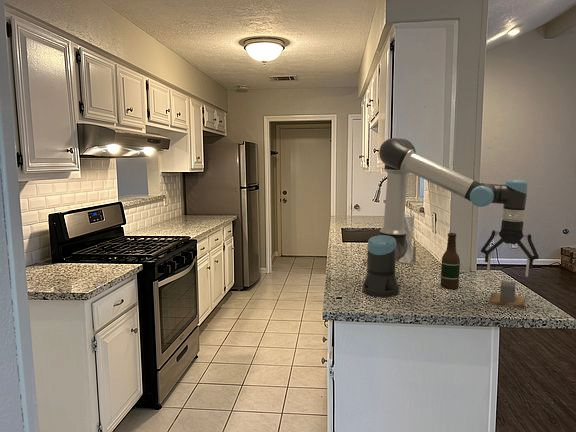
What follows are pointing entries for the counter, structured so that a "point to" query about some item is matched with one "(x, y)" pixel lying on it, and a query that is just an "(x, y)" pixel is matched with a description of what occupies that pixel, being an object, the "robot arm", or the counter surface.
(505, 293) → the plug
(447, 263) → the beer bottle
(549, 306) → the counter surface
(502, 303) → the walnut board
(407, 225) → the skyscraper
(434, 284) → the counter surface
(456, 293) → the counter surface
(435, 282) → the counter surface
